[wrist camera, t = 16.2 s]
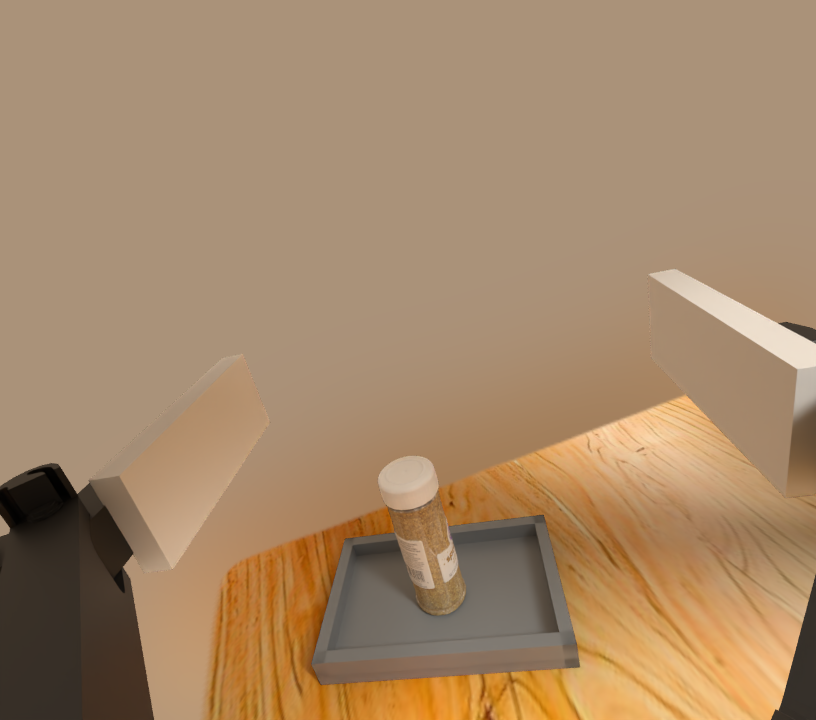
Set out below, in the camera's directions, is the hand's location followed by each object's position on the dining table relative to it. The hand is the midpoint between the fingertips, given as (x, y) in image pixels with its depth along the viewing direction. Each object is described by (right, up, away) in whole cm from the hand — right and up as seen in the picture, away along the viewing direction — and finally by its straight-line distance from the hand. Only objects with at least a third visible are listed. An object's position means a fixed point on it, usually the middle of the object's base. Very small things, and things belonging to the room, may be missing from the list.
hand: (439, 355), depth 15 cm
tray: (+2, -22, +27) cm, 34 cm away
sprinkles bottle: (+2, -21, +26) cm, 34 cm away
